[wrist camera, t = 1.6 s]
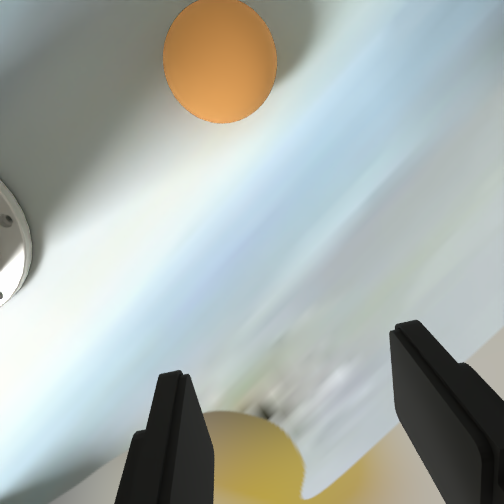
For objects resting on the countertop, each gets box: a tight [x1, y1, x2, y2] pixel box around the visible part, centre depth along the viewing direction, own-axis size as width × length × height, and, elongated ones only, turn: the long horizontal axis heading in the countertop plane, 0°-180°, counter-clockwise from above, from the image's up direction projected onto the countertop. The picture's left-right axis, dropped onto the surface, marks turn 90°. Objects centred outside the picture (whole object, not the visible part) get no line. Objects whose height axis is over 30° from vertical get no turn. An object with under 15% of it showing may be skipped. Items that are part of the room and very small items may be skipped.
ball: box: [163, 0, 277, 123], centre depth 20 cm, size 6×6×6 cm
